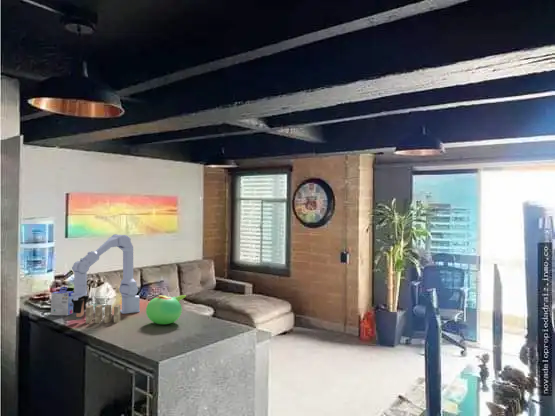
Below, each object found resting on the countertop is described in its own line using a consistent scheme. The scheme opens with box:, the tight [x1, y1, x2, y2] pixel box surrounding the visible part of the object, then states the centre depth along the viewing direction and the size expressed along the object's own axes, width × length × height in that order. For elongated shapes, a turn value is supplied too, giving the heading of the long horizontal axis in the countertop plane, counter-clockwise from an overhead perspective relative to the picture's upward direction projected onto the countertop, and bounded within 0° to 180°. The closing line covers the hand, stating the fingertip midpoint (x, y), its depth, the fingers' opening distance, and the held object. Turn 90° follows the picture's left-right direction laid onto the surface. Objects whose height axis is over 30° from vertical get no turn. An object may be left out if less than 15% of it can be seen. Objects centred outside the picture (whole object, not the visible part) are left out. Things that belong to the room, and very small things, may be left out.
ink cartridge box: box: [50, 286, 74, 316], centre depth 227 cm, size 10×6×14 cm, turn 89°
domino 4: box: [104, 304, 112, 324], centre depth 213 cm, size 2×5×8 cm, turn 7°
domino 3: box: [94, 304, 103, 324], centre depth 213 cm, size 2×5×8 cm, turn 7°
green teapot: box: [145, 294, 187, 325], centre depth 210 cm, size 18×17×15 cm
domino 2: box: [85, 304, 94, 324], centre depth 212 cm, size 2×5×8 cm, turn 7°
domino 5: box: [113, 304, 121, 324], centre depth 214 cm, size 2×5×8 cm, turn 7°
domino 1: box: [75, 301, 85, 318], centre depth 211 cm, size 2×5×8 cm, turn 7°
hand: (80, 311), depth 211 cm, fingers closed on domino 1, 5 cm apart
